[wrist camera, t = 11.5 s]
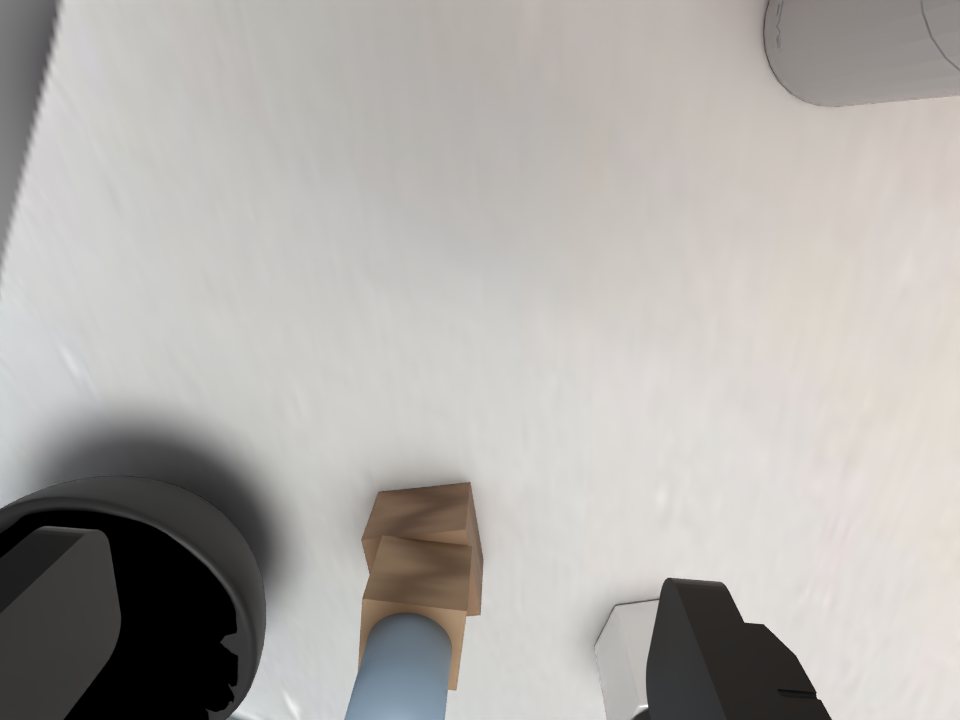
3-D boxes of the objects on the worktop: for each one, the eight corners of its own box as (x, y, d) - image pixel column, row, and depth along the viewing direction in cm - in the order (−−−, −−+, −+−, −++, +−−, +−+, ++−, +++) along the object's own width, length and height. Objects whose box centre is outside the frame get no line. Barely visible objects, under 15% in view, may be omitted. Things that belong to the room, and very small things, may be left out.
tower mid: (472, 546, 41) (466, 611, 35) (462, 617, 43) (456, 690, 37) (382, 535, 41) (362, 598, 35) (377, 607, 43) (357, 678, 37)
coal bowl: (355, 537, 48) (268, 768, 30) (212, 677, 54) (67, 942, 36) (137, 371, 44) (-108, 527, 26) (6, 541, 50) (-271, 765, 32)
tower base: (470, 481, 46) (465, 529, 41) (483, 559, 49) (480, 615, 43) (378, 491, 47) (361, 539, 41) (395, 567, 49) (381, 623, 43)
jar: (574, 630, 50) (594, 772, 39) (656, 577, 48) (702, 711, 37) (641, 695, 52) (678, 848, 41) (722, 647, 50) (785, 794, 39)
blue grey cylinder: (450, 613, 35) (440, 700, 30) (453, 682, 37) (443, 778, 31) (364, 612, 36) (337, 698, 30) (369, 681, 37) (345, 775, 32)
